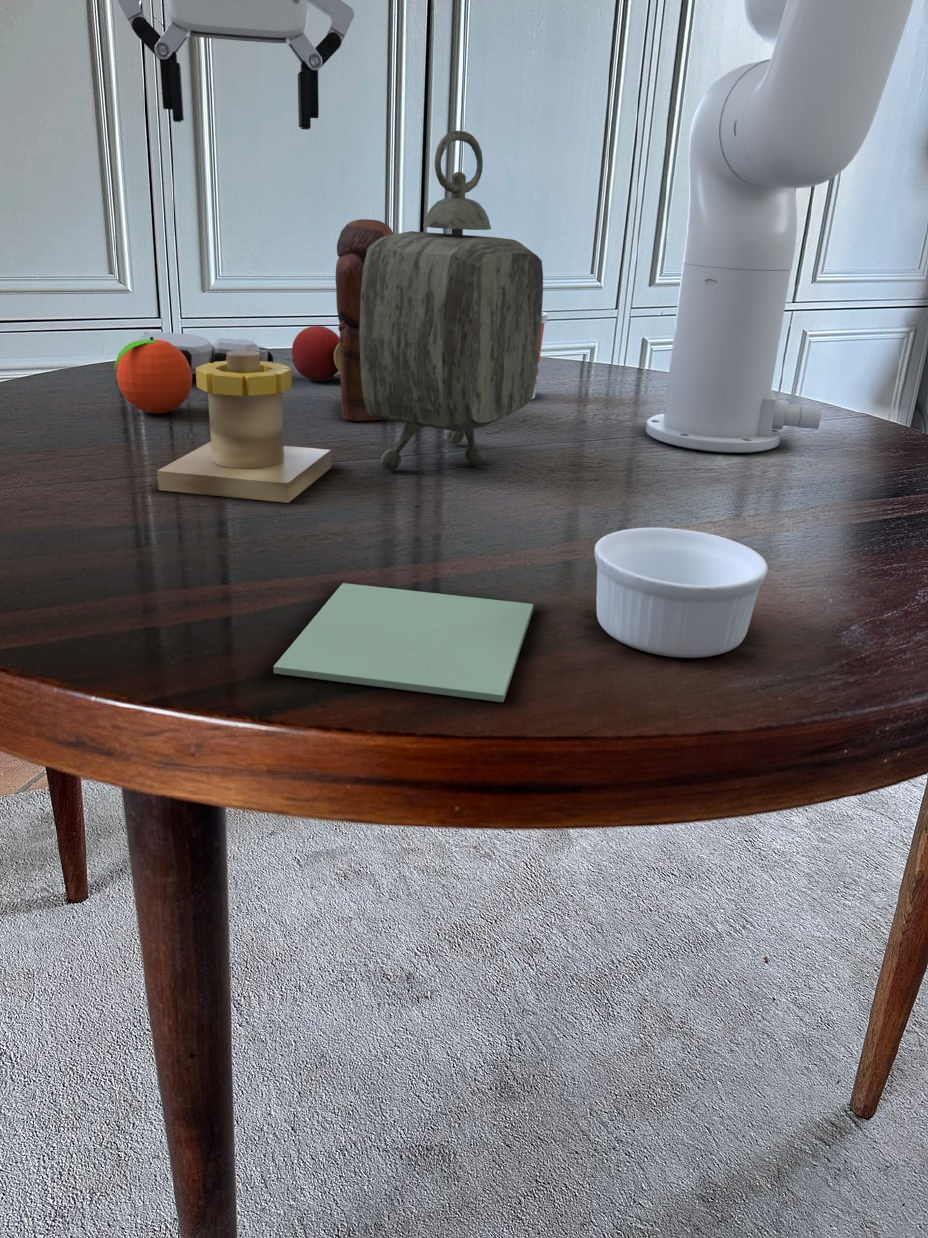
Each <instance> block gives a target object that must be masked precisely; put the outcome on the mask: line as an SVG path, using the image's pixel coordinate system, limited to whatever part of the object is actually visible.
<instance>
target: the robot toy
mask: <svg viewBox="0 0 928 1238" xmlns="http://www.w3.org/2000/svg"><path fill="white" fill-rule="evenodd" d="M150 337H153V340H163V341H167V342H169V343H171V344H172V345H174V346H175V347H176V348H178V349H179V350H180V351H181V352H182V353H183V355H184V356H185V357H186V359H187V361H188V363H189V365H190V368H191V373H192V375H196V367H199V366H201V365H204V364H207V363H214V362H219V361H227V356H226V354H227V352H230V351H237V350H248V351H256V352H259V353H260V361H264V362H273V363H274V355H273V354H272V353H271V352H270V350H268V348H267V347H265V346H258V345H257V344H256V343H255V342H254V341H253V340H250V339H249V340H248V339H244V338H243V339H241V338H227V337H226V338H223V337H219V338H217V339H216V340H215V341H214V342H213V344H212V343H211V342H210V341H209V339H207V338H205V337H204V336H201V335H197V334H190V333H180V332H179V333H178V332H169V331H168V332H166V331H154V332H148V331H146V332H145V331H144V332H143V334H142V335H141V336H140V337H139V338H138V339H136V341H140V340H148V339H150Z"/></svg>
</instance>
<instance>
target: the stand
mask: <svg viewBox="0 0 928 1238" xmlns="http://www.w3.org/2000/svg"><path fill="white" fill-rule="evenodd" d="M226 356H227V372H233V373H255V372H261V368H260V353H259V352H256V351H248V350H237V351H230V352H227V354H226ZM207 402H208V403H207V404H208V405H207V406H208V417H209V418H208V419H209V433H210V441H208V442H206V443H204V444H202V445H201V446H199V447H198V448H196V449H194V450H191V452H189V453H187V454H185V455H183V456H181V457H179V458H178V459H176V460H174V461H172V462H170V463H169V464H167V465H164V466H163V467H161V468H158V470H157V471H156V472H157V473H156V474H157V485H158V490H159V491H163V492H172V493H174V492H175V493H183V494H194V495H205V496H213V497H223V498H232V499H233V498H234V499H243V500H244V499H245V500H255V501H263V502H275V503H287V504H289V503H290V502H291V501H293V500H294V499H295V498H297V497H298V496H299V495H300V494H301V493H303V492H304V491H305V490H306V489H307V488H308V487H310V486H311V485H312V484H313V483H315V482H316V481H318V480H319V478H321V477H322V476H324V474H326V473H327V472H328V471H329V470H330V469H332V450H331V449H325V448H315V447H314V448H313V447H303V446H294V445H293V446H292V445H291V446H290V445H284V444H285V443H284V442H285V441H284V414H283V410H284V409H283V392H282V393H276V394H271V395H259V396H248V395H246V394H244V395H242V396H231V395H219V394H213V393H207Z"/></svg>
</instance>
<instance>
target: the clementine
mask: <svg viewBox="0 0 928 1238" xmlns="http://www.w3.org/2000/svg"><path fill="white" fill-rule="evenodd" d="M115 371H116V375H115V376H116V381H117V386H118V389H119V391H120V392H121V395H122V397H124V399H125V400H126V401H127V402H128V403H129V404H130V405H131V406H133V407H135V408H136V409H138V410H140V411H142V412H145V413H147V414H153V415H154V414H157V415H158V414H159V415H160V414H166V413H169V412H171V411H174V410H176V409H177V408H178V407H180V406H181V405H182V404H183V403H184V402H185V401H186V399H187V398H188V397H189V395H190V391H191V389H192V387H193V386H192V385H193V374H192V373H191V368H190V365H189V363H188V361H187V359H186V357H185V356H184V355H183V353H182V352H181V351H180V350H179V349H178V348H176V347H175V346H174V345H172V344H171V343H169V342H167V341H163V340H153V337H150V339H148V340H140V341H137V340H134V341H132V342H129V343H128V344H126V345H124V347H123V348H122V349H121V350H120V351H119V352H118V354H117V356H116V359H115V362H114V368H113V372H115Z"/></svg>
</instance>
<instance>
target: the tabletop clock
mask: <svg viewBox="0 0 928 1238" xmlns="http://www.w3.org/2000/svg"><path fill="white" fill-rule="evenodd" d="M457 141H458V142H464V143H466V144H468V145H469V146H470V147H471V149H472V150H473V153H474V156H475V160H476V171H475V174H474V175H473V177H472V178H471V179H470V180H469V181H467V176H466V174H465V173H464V172H462V171H456V172H453V174H452V176H451V181H450V180H449V179H447V178H446V176H445V175H444V173H443V171H442V170H443V169H442V157H443V155H444V153H445V150H446V149H447V148H448V145H449V144H451V143H452V142H457ZM480 146H481V145H480V143H479V142H478V140H477V139H476V138H475V136H474V135H472V134H471V133H469V132H468V131H463V130H453V131H449V132H447V133H446V134H445V135H444V136H443V137H442V138H441V139H440V141H439V143H438V145H437V147H436V151H435V155H434V171H435V176H436V179H437V181H438V184H439V185H440V186H441V187H442V188H443V189H444V190H445V191H447V192H448V193H451V197H446V198H442V199H439V200H437V201H436V202H435V203H434V204H433V205H432V206H431V207H430V209H429V210H428V212H427V213H426V216H425V219H424V222H423V225H422V227H423V228H424V227H425V228H431V229H442V230H443V229H445V230H451V232H450V233H441V232H430V231H429V232H426V231H414V230H413V231H412V230H410V231H404V232H399V233H394V234H393V235H388V236H384V237H382V238H380V239H378V240H376V241H375V242H374V243H373V244H372V245H371V246H370V247H368V249H367V254H366V258H365V263H364V267H363V276H362V285H361V301H360V327H359V343H360V366H361V382H362V391H363V399H364V402H365V406H366V410H367V414H369V415H371V416H373V417H375V418H380V419H381V420H387V421H392V422H400V423H404V428H403V431H402V433H401V434H400V436H399V438H398V441H397V443H396V444H395V446H394V448H393V449H392V448H389V449H386V450H384V452H383V454H382V455H381V457H380V462H381V464H382V466H383V467H384V468H385V469H387V470H388V471H389V470H396V469H397V468H399V466H400V465H401V462H402V456H401V454H400V453H401V452H402V450H403V449H404V447H405V446H406V445H407V444H408V442H409V441H410V440H411V439H412V437H413V436H415V434H416V433H417V432H419V431H420V430H422V429H423V428H425V427H429V428H433V429H440V430H446V432H445V437H446V440H447V441H448V442H449V443H450V444H453V445H457V444H460V443H461V442H462V441H463V439H464V437H465V438H466V442H467V445H468V448H467V449H466V450H465V452H464V455H463V459H464V461H465V463H466V464H467V465H468V466H470V467H478V466H480V465H481V464H482V463H483V460H484V452H483V451H482V449H481V448H479V447H478V446H476V439H475V431H474V430H475V429H478V428H482V427H485V426H488V425H490V424H492V423H495V422H497V421H500V420H501V419H504V418H506V417H508V416H510V415H512V414H514V413H516V412H518V411H520V410H521V409H523V408H525V407H526V406H527V405H528V404H529V403H530V401H531V400H532V399H531V398H532V397H533V392H534V388H535V383H536V376H537V369H538V358H539V347H540V336H541V322H542V312H543V300H544V299H543V298H544V271H543V270H544V269H543V261H542V259H541V258H540V257H539V255H537V254H536V253H534V252H533V251H532V250H531V249H530V248H528V247H527V246H525V245H524V244H523V243H521V242H520V241H518V240H515V239H513V238H504V237H494V236H483V235H468V234H464V230H467V231H489V230H492V225H491V222H490V218H489V216H488V214H487V212H486V209H484V207H483V206H482V205H481V204H480V203H479V202H478V201H476V200H473V199H470V198H467V197H466V194H467V193H469V192H471V191H472V190H473V189H475V188H476V187H477V186H478V184H479V182H480V179H481V177H482V173H483V168H484V167H483V166H484V163H483V160H484V159H483V151H482V149H481V147H480Z"/></svg>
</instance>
